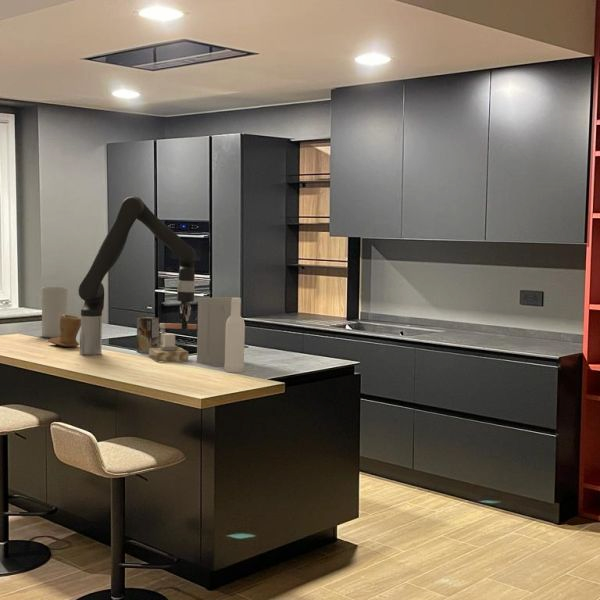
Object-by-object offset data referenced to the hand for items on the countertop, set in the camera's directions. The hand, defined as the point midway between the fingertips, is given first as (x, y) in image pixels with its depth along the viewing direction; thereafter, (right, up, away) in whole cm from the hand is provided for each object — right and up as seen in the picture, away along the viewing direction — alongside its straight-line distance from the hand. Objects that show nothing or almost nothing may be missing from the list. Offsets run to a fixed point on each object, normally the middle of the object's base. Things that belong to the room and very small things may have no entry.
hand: (184, 329), depth 383 cm
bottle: (+25, -16, -33) cm, 45 cm away
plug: (-6, -13, -6) cm, 16 cm away
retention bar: (-3, 0, +3) cm, 4 cm away
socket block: (-6, -13, -6) cm, 16 cm away
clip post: (-10, -12, +4) cm, 16 cm away
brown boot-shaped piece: (-59, -9, +24) cm, 65 cm away
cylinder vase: (-75, -6, +58) cm, 94 cm away
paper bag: (+19, -15, -14) cm, 28 cm away
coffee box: (-18, -11, +12) cm, 25 cm away
